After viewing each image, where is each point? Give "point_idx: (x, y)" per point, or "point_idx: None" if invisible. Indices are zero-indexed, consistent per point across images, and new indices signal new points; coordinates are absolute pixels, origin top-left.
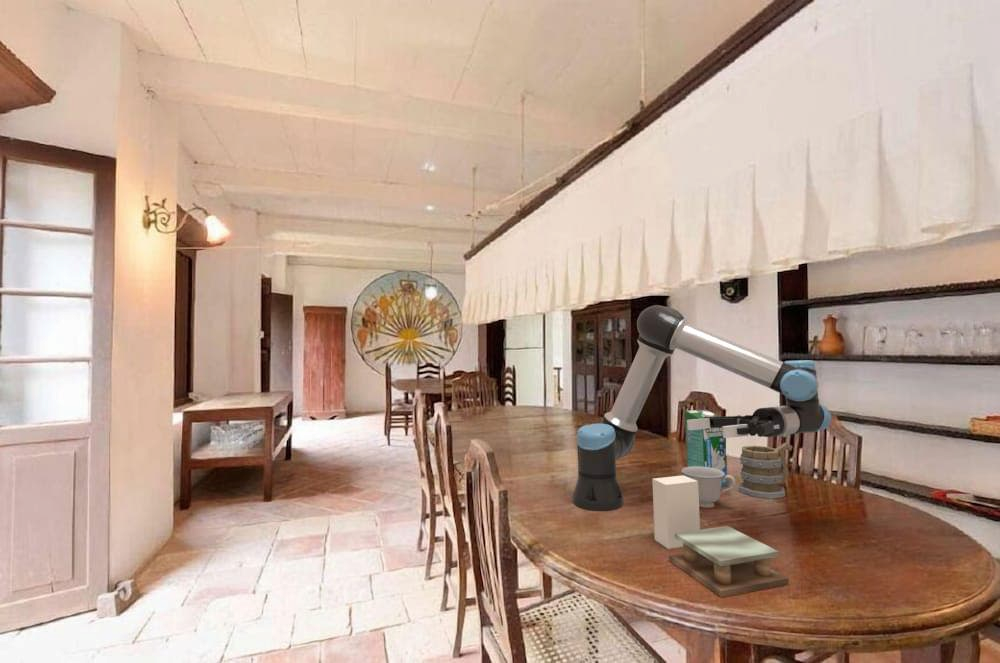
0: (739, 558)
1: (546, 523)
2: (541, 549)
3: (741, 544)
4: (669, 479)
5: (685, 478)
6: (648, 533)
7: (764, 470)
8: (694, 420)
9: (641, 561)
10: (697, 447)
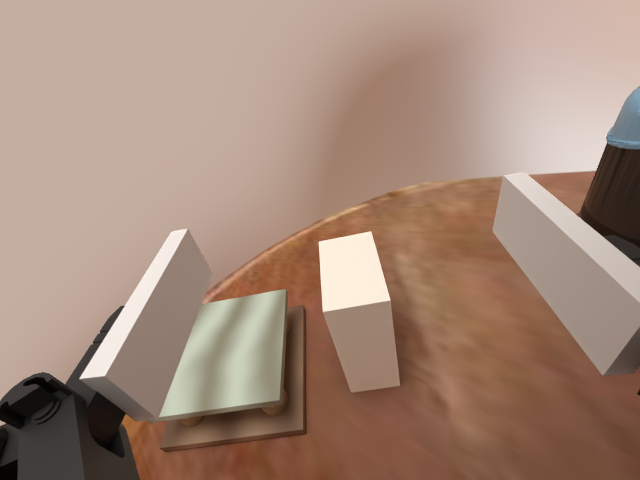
0: None
1: (461, 202)
2: (372, 199)
3: (201, 368)
4: (357, 258)
5: (356, 293)
6: (414, 317)
7: None
8: (528, 205)
9: (314, 278)
10: None
